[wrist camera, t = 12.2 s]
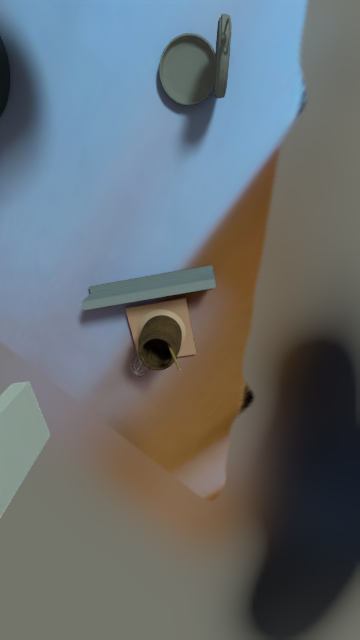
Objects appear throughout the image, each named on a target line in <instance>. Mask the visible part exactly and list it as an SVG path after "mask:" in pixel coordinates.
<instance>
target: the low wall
mask: <svg viewBox="0 0 360 640" xmlns="http://www.w3.org/2000/svg"><path fill="white" fill-rule="evenodd" d="M211 288H216V284H215V278H214V272H213V266H212V265H207V266H202V267H196V268H191V269H185V270H180V271H174V272H168V273H163V274H157V275H152V276H146V277H141V278H135V279H130V280H124V281H118V282H113V283H107V284H102V285H96V286H91V287H89V290H90V293H91V294H90V295H89V296H88V297H86V298H85V299H84V300H83V301H82V305H83V308H84V310H89V309H94V308H100V307H106V306H112V305H118V304H124V303H129V302H135V301H141V300H147V299H153V298H159V297H164V296H170V295H176V294H182V293H188V292H194V291H199V290H205V289H211Z"/></svg>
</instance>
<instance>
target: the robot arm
mask: <svg viewBox="0 0 360 640" xmlns="http://www.w3.org/2000/svg"><path fill="white" fill-rule="evenodd" d="M9 87H10V70H9V63H8V58H7V53H6V50H5V47H4V44H3V41H2V39H1V36H0V116H1V114H2V112H3V110H4V108H5V105H6V102H7V99H8V95H9ZM49 437H50V433H49V430H48V427H47V425H46V422H45V420H44V417H43V415H42V412H41V410H40V408H39V405H38V403H37V400H36V397H35V395H34V392H33V390H32V387H31V385H30V382H22V383H14V384H11V385H10V386H9V387H8V388H7V389H6V390H5V391H4V392H3V393H2V394H1V395H0V518H1V516H2V515H3V513H4V511H5V510H6V508H7V506H8V505H9V503H10V501H11V500H12V498H13V496H14V495H15V493H16V491H17V490H18V488H19V487H20V485H21V483H22V482H23V480H24V478H25V476H26V475H27V473H28V472H29V470H30V468H31V467H32V465H33V463H34V462H35V460H36V458H37V457H38V455H39V454H40V452H41V450H42V449H43V447H44V445H45V444H46V442H47V440H48V439H49Z"/></svg>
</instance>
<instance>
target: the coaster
mask: <svg viewBox="0 0 360 640" xmlns="http://www.w3.org/2000/svg"><path fill="white" fill-rule="evenodd" d="M126 313H127V317H128V320H129V324H130V328H131V332H132V335H133V339H134V343H135V346H136V350H137V354H138V340H139V336H140V334H141V331H142V329H143V327H144V325H145V323H146V322H147V321H148V320H149V319H151V318H152V317H154V316H158V315H165V316H169V317H171V318H173V319H174V320H176V321H177V323H178V324H179V326H180V328H181V331H182V341H181V348H180V351H179V353H178V355H177V357H179V356H186V355H193V354H197V351H196V346H195V341H194V336H193V331H192V326H191V321H190V316H189V310H188V305H187V300H186V297H183V298H177V299H171V300H165V301H159V302H153V303H147V304H142V305H136V306H130V307H126ZM138 358H139V356H138ZM139 361H140V359H139ZM140 362H141V361H140Z"/></svg>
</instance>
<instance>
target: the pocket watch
mask: <svg viewBox="0 0 360 640" xmlns="http://www.w3.org/2000/svg"><path fill="white" fill-rule="evenodd" d="M230 41H231V19H230V16H229V15H227V14H222V15H221V17H220V18H219V21H218V30H217V42H216V54H215V52H214V49H213V47H212V46H211V44H210V43H209V42H208V41H207V40H206V39H205V38H203V37H201V36H199V35H197V34H192V33H186V34H182V35H179V36H177V37H175V38H174V39H173V40H172V41H171V42H169V44H168V45H167V47H166V48H165V49H164V52H163V54H162V56H161V60H160V66H159V73H160V80H161V84H162V86H163V88H164V90H165V92H166V94H167V95H168V96H169V97H170V98H171V99H172V100H173V101H175V102H176V103H178V104H182V105H186V106H190V105H195V104H198V103H200V102H202V101H203V100H204V99H206V98H207V97H208V95H209V94H210V93H211V92H212V90H213V88H214V92H215V95H216V97H217V98H222V97H224V96H225V93H226V87H227V78H228V67H229V56H230Z"/></svg>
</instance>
